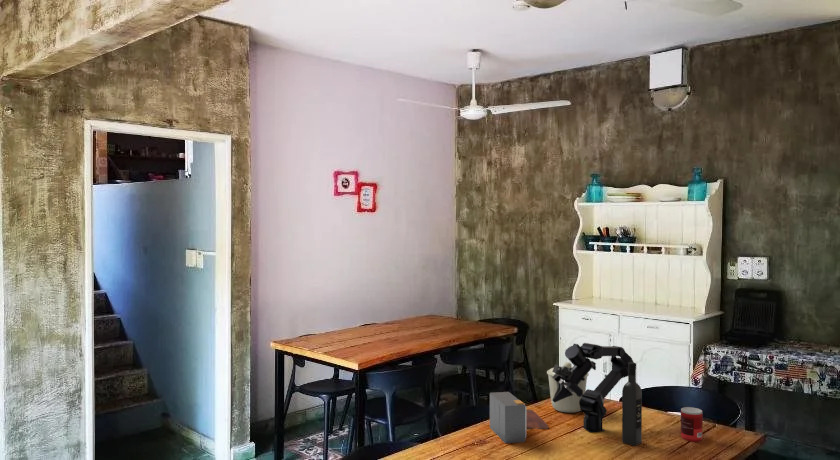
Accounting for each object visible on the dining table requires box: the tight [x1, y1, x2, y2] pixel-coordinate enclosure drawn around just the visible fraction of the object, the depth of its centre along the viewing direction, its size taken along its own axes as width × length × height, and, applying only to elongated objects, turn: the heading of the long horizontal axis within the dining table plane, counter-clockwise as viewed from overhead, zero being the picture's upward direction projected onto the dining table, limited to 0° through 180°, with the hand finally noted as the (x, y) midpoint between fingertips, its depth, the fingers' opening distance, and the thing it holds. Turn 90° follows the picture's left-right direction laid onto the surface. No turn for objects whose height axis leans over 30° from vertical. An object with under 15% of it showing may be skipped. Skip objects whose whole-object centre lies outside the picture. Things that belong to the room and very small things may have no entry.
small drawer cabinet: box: [489, 391, 526, 444], centre depth 243 cm, size 9×19×14 cm, turn 11°
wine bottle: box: [621, 361, 643, 447], centre depth 234 cm, size 6×6×30 cm
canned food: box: [680, 406, 704, 443], centre depth 239 cm, size 8×8×11 cm
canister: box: [546, 361, 589, 414], centre depth 277 cm, size 18×18×21 cm
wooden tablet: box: [526, 409, 550, 430], centre depth 263 cm, size 27×10×2 cm, turn 3°
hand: (553, 401), depth 243 cm, fingers closed
